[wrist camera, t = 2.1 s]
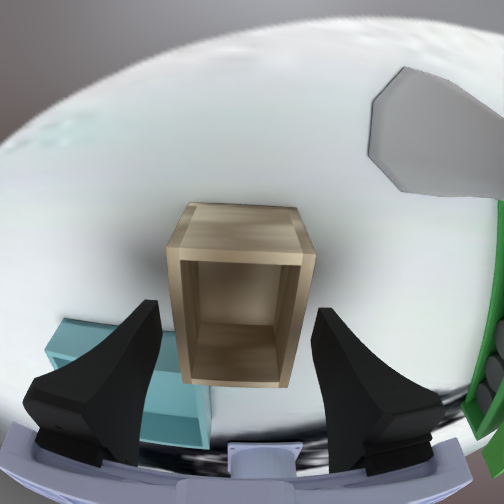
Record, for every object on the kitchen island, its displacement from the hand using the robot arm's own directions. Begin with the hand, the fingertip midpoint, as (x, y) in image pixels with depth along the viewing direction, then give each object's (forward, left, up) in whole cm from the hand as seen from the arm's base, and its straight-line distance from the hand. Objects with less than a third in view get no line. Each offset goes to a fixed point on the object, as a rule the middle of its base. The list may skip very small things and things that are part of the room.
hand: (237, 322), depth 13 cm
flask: (+9, -10, -5) cm, 14 cm away
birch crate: (0, 0, -4) cm, 4 cm away
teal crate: (-11, +7, -4) cm, 14 cm away
